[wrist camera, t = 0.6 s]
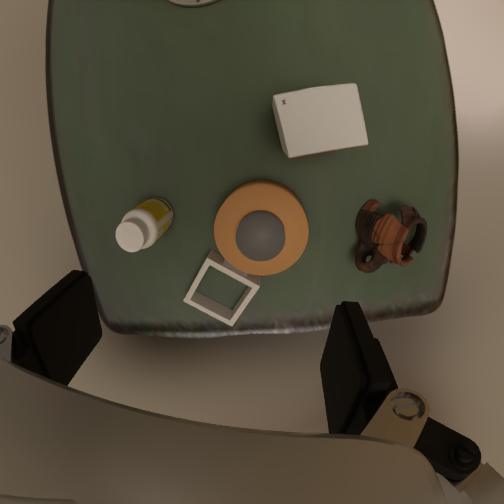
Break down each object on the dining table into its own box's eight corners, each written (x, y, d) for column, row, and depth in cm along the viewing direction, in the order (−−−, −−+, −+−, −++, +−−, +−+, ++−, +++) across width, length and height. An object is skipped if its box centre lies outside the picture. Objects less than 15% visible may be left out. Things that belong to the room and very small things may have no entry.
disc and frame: (179, 286, 47) (165, 310, 41) (246, 163, 39) (241, 169, 33) (243, 320, 49) (238, 347, 42) (320, 208, 41) (329, 223, 34)
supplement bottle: (138, 198, 42) (106, 217, 33) (171, 195, 41) (145, 213, 32) (144, 232, 44) (115, 258, 35) (176, 230, 43) (153, 257, 34)
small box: (282, 151, 38) (287, 159, 26) (271, 106, 36) (271, 93, 24) (340, 140, 37) (370, 145, 25) (330, 96, 35) (356, 81, 23)
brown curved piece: (377, 179, 39) (422, 199, 33) (397, 214, 45) (436, 235, 38) (328, 245, 40) (369, 274, 34) (355, 271, 46) (391, 298, 40)
